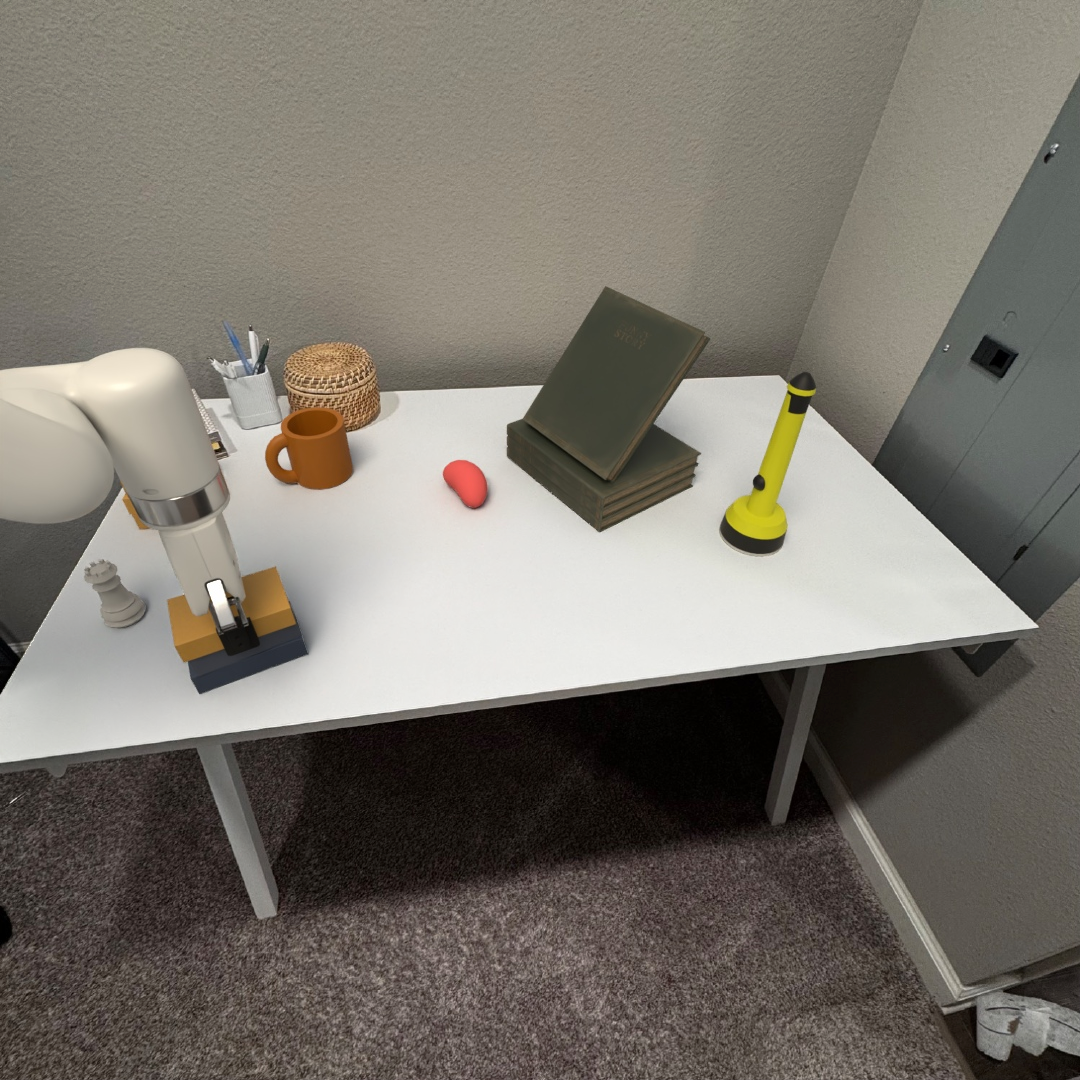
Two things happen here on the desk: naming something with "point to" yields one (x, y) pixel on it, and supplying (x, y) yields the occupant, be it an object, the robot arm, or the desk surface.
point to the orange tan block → (260, 605)
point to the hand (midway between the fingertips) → (237, 623)
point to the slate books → (248, 659)
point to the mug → (312, 449)
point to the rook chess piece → (114, 595)
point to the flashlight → (769, 481)
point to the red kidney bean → (466, 482)
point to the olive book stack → (611, 414)
